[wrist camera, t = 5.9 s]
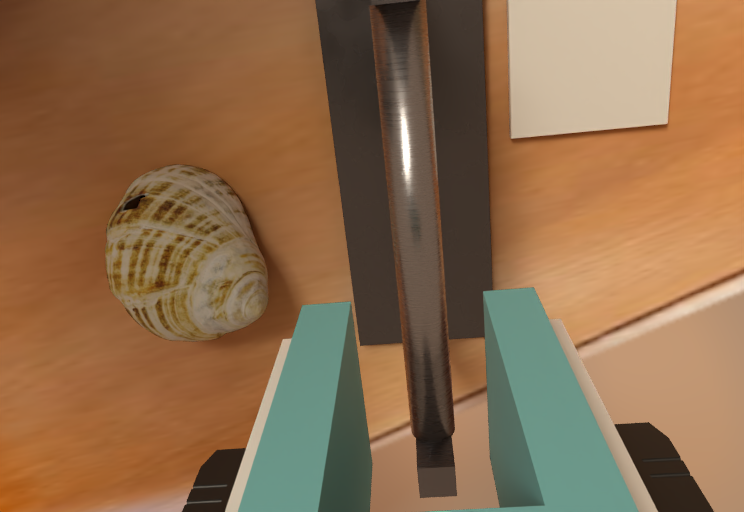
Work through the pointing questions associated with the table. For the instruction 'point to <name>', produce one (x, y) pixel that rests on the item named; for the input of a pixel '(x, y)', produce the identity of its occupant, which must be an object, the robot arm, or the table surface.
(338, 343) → the c link
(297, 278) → the table surface
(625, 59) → the mat
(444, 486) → the stand
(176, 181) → the seashell
